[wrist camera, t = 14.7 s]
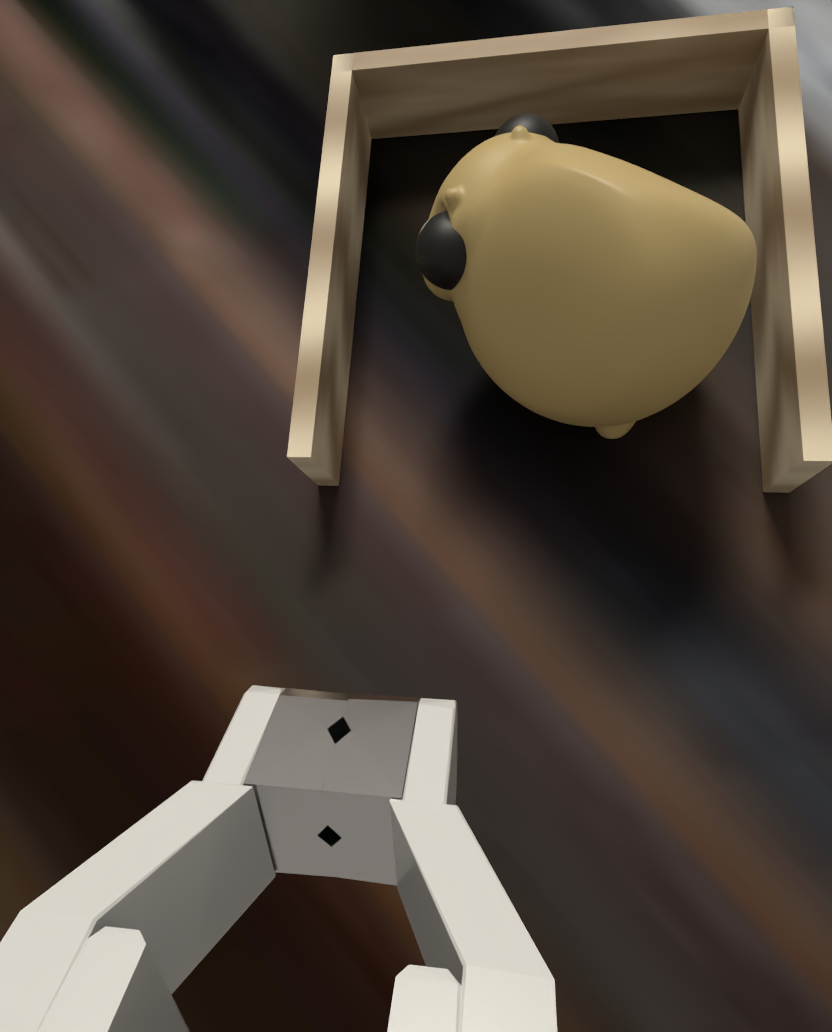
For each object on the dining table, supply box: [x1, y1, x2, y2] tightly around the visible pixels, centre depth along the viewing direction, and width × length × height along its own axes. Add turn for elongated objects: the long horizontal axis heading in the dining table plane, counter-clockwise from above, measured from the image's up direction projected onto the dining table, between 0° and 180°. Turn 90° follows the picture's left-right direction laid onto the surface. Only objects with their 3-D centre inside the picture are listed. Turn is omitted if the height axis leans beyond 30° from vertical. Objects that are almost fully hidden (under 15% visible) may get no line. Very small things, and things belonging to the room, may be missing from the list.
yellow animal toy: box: [415, 113, 757, 439], centre depth 24 cm, size 10×12×11 cm
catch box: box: [287, 7, 832, 493], centre depth 28 cm, size 20×20×4 cm
